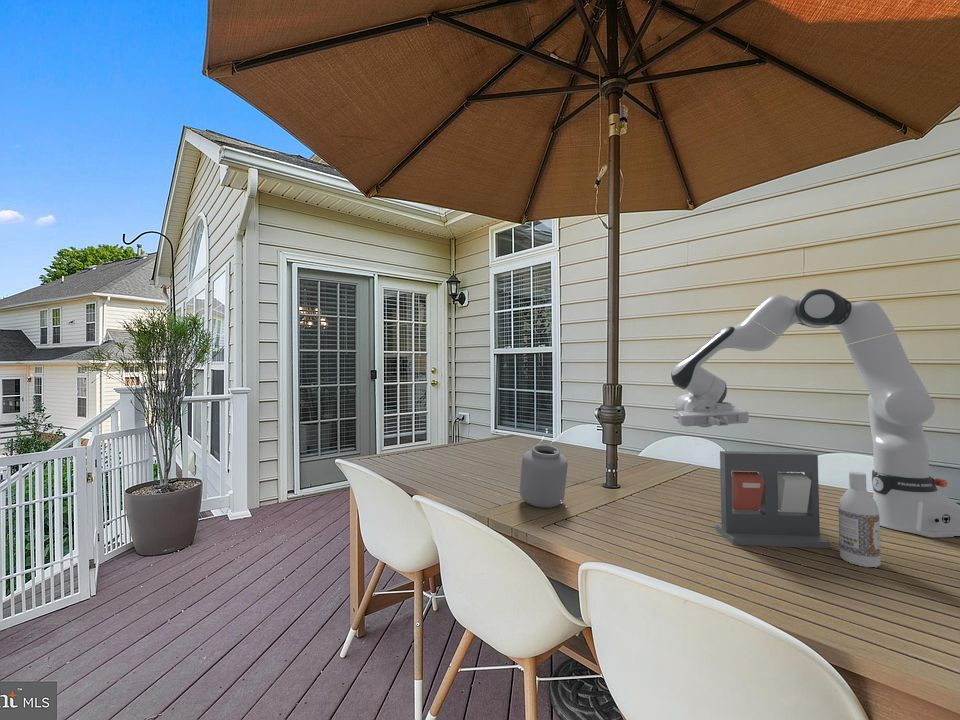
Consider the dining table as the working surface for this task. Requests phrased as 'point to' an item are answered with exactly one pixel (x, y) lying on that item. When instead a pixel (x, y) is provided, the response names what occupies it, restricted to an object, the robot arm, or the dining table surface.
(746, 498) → the red rocker
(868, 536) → the bath foam
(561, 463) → the jar
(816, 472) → the switch panel
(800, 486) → the grey rocker
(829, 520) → the dining table surface
